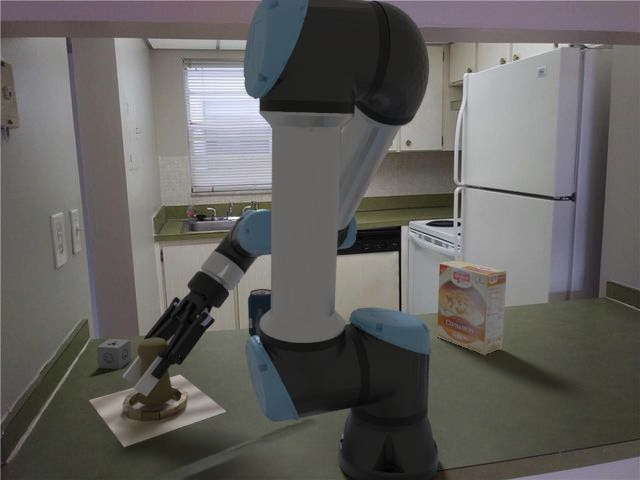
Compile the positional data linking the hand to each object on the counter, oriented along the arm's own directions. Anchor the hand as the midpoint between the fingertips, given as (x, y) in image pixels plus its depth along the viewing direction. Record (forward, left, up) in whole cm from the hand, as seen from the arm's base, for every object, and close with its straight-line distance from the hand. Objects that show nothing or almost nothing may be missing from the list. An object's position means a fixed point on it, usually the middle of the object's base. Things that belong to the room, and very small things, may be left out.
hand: (134, 386), depth 91 cm
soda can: (+21, -40, -6) cm, 45 cm away
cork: (0, -4, -3) cm, 5 cm away
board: (0, -4, -6) cm, 7 cm away
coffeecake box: (-15, -77, -6) cm, 78 cm away
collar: (0, -4, -5) cm, 6 cm away
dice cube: (+27, -5, -6) cm, 28 cm away
